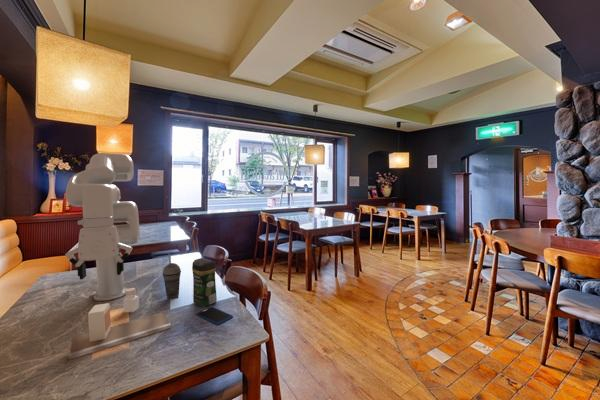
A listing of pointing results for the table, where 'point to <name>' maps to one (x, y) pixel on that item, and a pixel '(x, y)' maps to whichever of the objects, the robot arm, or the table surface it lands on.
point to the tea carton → (99, 322)
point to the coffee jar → (204, 282)
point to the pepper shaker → (131, 301)
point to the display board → (119, 334)
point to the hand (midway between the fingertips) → (101, 275)
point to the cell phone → (214, 315)
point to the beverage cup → (172, 280)
